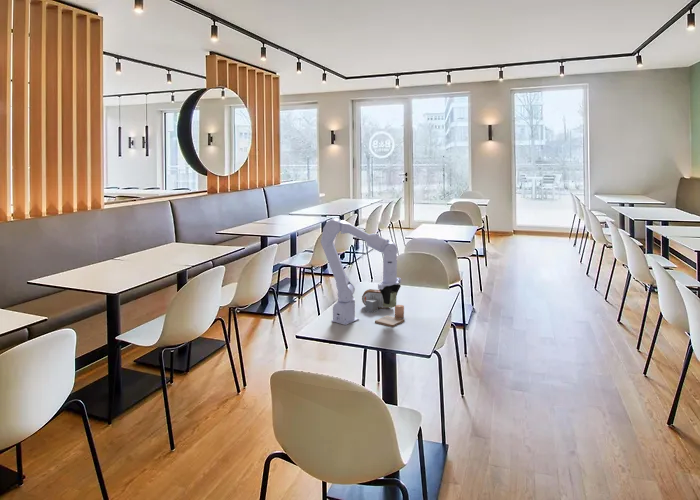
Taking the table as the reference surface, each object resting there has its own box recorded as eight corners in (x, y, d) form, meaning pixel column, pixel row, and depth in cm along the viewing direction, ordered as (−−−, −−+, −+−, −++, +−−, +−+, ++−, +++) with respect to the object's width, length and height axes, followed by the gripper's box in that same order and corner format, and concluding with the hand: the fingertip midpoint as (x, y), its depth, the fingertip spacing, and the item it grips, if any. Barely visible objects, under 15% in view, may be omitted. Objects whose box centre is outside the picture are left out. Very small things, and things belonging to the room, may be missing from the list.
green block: (391, 308, 199) (391, 294, 198) (383, 306, 202) (383, 292, 201) (396, 305, 202) (396, 292, 201) (388, 304, 205) (388, 290, 204)
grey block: (372, 312, 216) (372, 301, 215) (365, 311, 218) (365, 300, 217) (377, 310, 219) (377, 300, 218) (370, 308, 221) (370, 298, 220)
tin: (394, 308, 222) (394, 290, 221) (393, 310, 219) (393, 292, 218) (362, 305, 226) (362, 288, 225) (361, 307, 223) (361, 290, 222)
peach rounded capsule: (400, 319, 206) (400, 308, 205) (392, 317, 209) (392, 306, 208) (405, 316, 209) (405, 305, 208) (397, 315, 212) (398, 304, 211)
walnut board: (392, 327, 196) (392, 325, 196) (375, 322, 202) (375, 320, 202) (404, 321, 203) (404, 319, 203) (387, 317, 209) (387, 315, 209)
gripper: (388, 275, 191) (387, 308, 194) (407, 269, 202) (406, 300, 205) (373, 273, 196) (373, 305, 198) (393, 267, 207) (393, 297, 209)
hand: (389, 302), depth 202 cm, fingers closed on green block, 4 cm apart
